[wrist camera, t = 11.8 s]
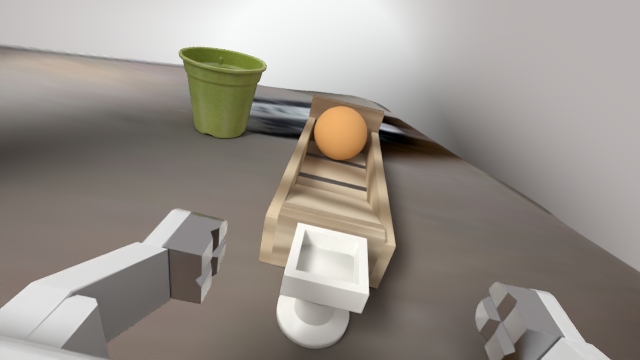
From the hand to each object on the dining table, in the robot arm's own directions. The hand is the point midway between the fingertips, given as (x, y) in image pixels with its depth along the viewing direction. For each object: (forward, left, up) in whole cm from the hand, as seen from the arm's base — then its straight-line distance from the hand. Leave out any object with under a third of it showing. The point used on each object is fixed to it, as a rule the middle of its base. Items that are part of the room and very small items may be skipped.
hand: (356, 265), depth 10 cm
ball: (-10, +27, -8) cm, 30 cm away
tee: (-2, +5, -10) cm, 11 cm away
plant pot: (-24, +22, -10) cm, 34 cm away
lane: (-7, +19, -10) cm, 22 cm away
